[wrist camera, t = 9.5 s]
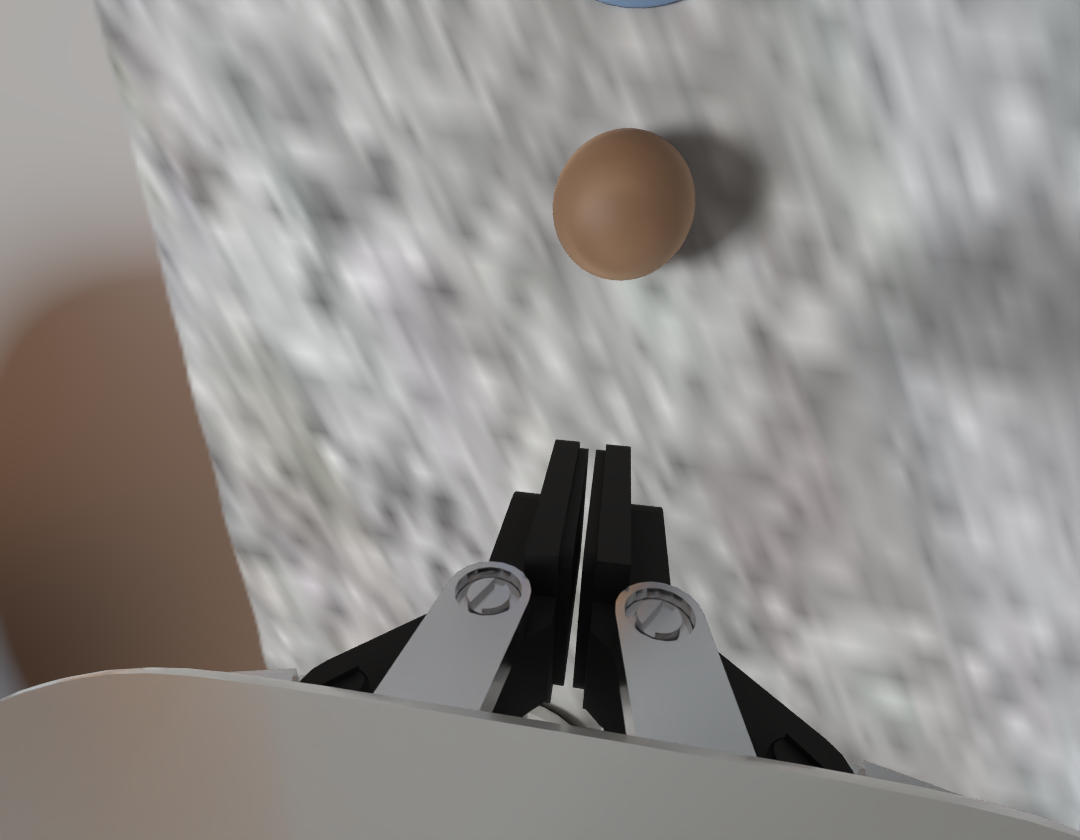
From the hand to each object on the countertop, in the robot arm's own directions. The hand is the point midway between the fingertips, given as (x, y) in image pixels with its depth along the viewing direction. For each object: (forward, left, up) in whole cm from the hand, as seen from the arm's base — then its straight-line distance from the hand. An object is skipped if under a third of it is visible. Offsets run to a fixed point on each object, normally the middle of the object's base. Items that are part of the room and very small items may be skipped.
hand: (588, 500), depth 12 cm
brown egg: (+4, +4, -12) cm, 14 cm away
